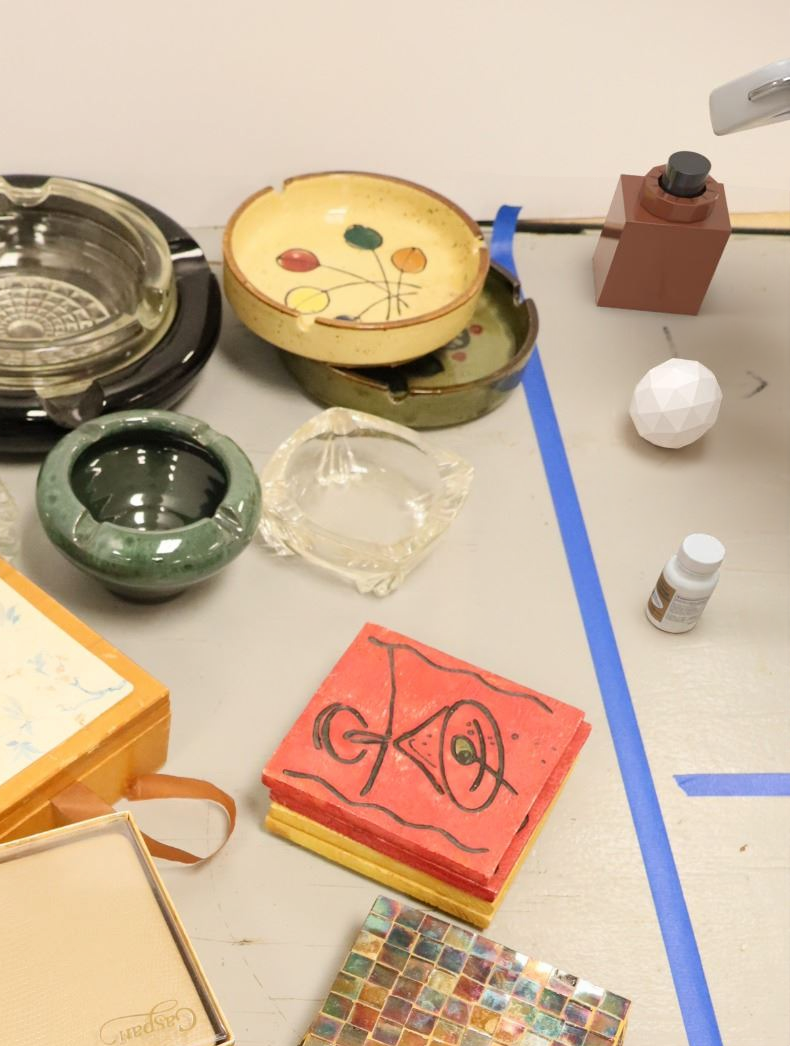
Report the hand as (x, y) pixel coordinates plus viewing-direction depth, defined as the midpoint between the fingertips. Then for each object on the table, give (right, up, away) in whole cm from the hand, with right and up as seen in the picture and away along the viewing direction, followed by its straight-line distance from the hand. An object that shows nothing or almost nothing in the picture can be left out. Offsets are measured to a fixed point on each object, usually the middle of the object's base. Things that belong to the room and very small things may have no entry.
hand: (759, 113), depth 125 cm
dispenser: (-3, -6, +20) cm, 22 cm away
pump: (-2, -1, +11) cm, 12 cm away
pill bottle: (-9, -45, -4) cm, 46 cm away
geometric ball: (-6, -26, +8) cm, 28 cm away
